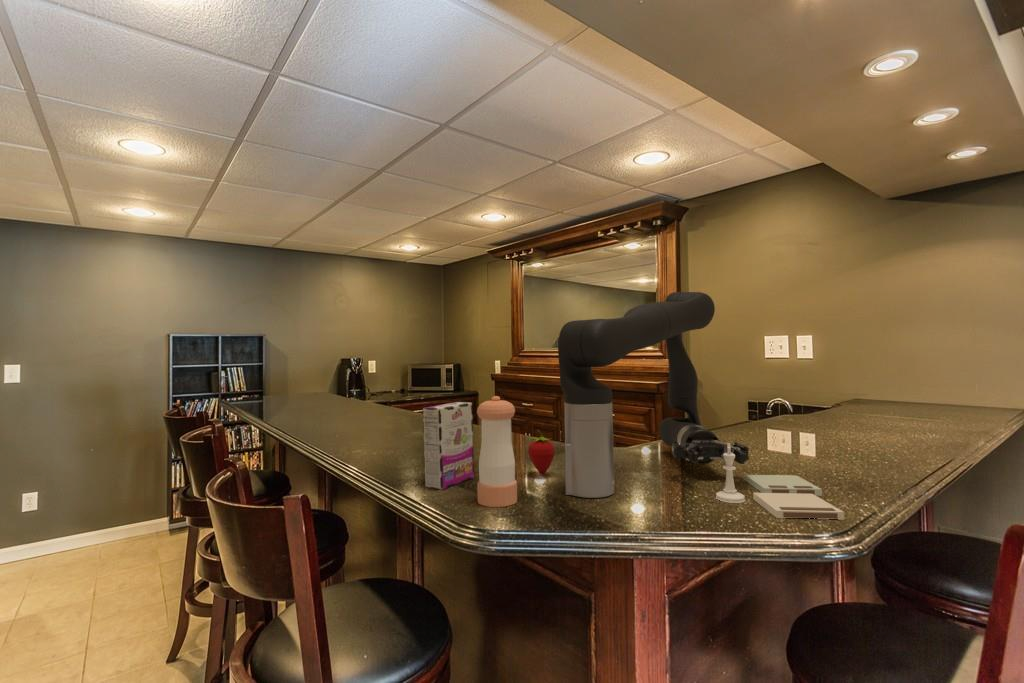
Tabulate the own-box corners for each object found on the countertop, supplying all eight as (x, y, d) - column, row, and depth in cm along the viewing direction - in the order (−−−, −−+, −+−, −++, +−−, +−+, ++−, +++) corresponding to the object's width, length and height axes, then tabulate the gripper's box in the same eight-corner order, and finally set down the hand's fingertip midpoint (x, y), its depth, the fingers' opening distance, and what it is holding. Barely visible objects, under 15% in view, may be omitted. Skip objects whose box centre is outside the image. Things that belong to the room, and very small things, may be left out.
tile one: (777, 518, 77) (776, 509, 77) (753, 499, 87) (753, 491, 87) (844, 520, 76) (844, 511, 76) (812, 500, 86) (812, 492, 86)
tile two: (764, 494, 90) (764, 487, 90) (745, 480, 100) (745, 474, 100) (822, 496, 89) (822, 488, 89) (796, 481, 99) (796, 474, 99)
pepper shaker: (477, 496, 92) (475, 394, 93) (515, 494, 93) (513, 394, 93) (478, 508, 85) (476, 398, 85) (519, 506, 86) (517, 397, 86)
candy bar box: (456, 475, 108) (455, 401, 109) (474, 477, 106) (473, 402, 106) (422, 487, 99) (421, 406, 99) (441, 490, 96) (440, 407, 97)
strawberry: (528, 479, 103) (527, 432, 104) (528, 471, 111) (527, 427, 111) (556, 479, 103) (555, 432, 103) (554, 471, 111) (553, 427, 111)
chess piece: (743, 496, 89) (742, 441, 90) (747, 504, 85) (745, 446, 85) (714, 494, 91) (713, 440, 91) (716, 501, 86) (715, 445, 87)
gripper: (664, 426, 111) (680, 438, 95) (729, 426, 109) (757, 439, 93) (665, 459, 111) (681, 477, 95) (730, 460, 109) (758, 478, 93)
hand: (719, 458), depth 94 cm, fingers open, 8 cm apart
